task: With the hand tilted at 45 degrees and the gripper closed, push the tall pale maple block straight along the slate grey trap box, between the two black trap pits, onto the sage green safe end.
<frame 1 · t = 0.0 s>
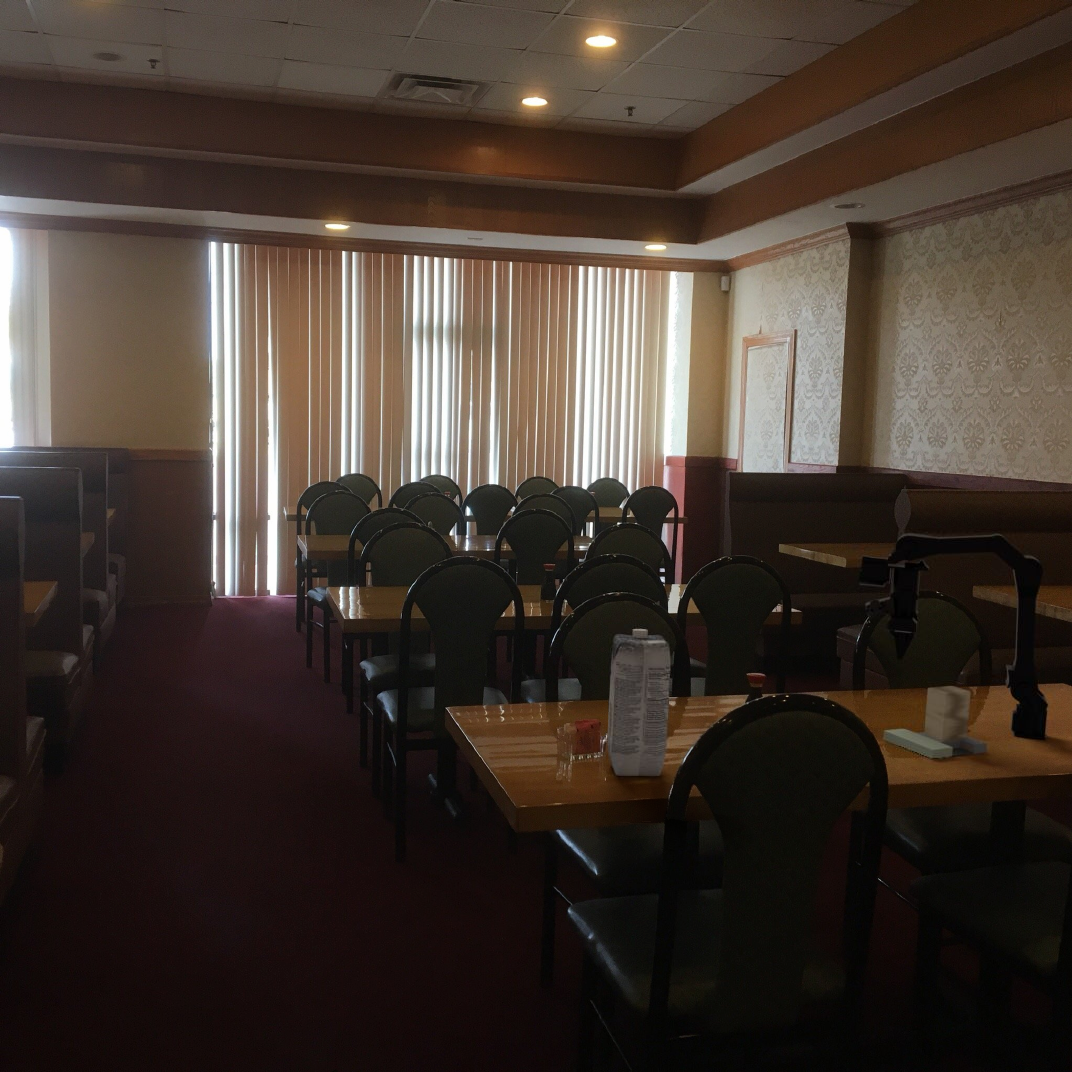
hand: (900, 655, 251), 15 cm above the table, tool pointing down, fingers open, 9 cm apart
juice carton: (635, 771, 207), on the table
maple block: (945, 735, 232), point 2 cm above the table, touching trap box
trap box: (933, 746, 231), on the table
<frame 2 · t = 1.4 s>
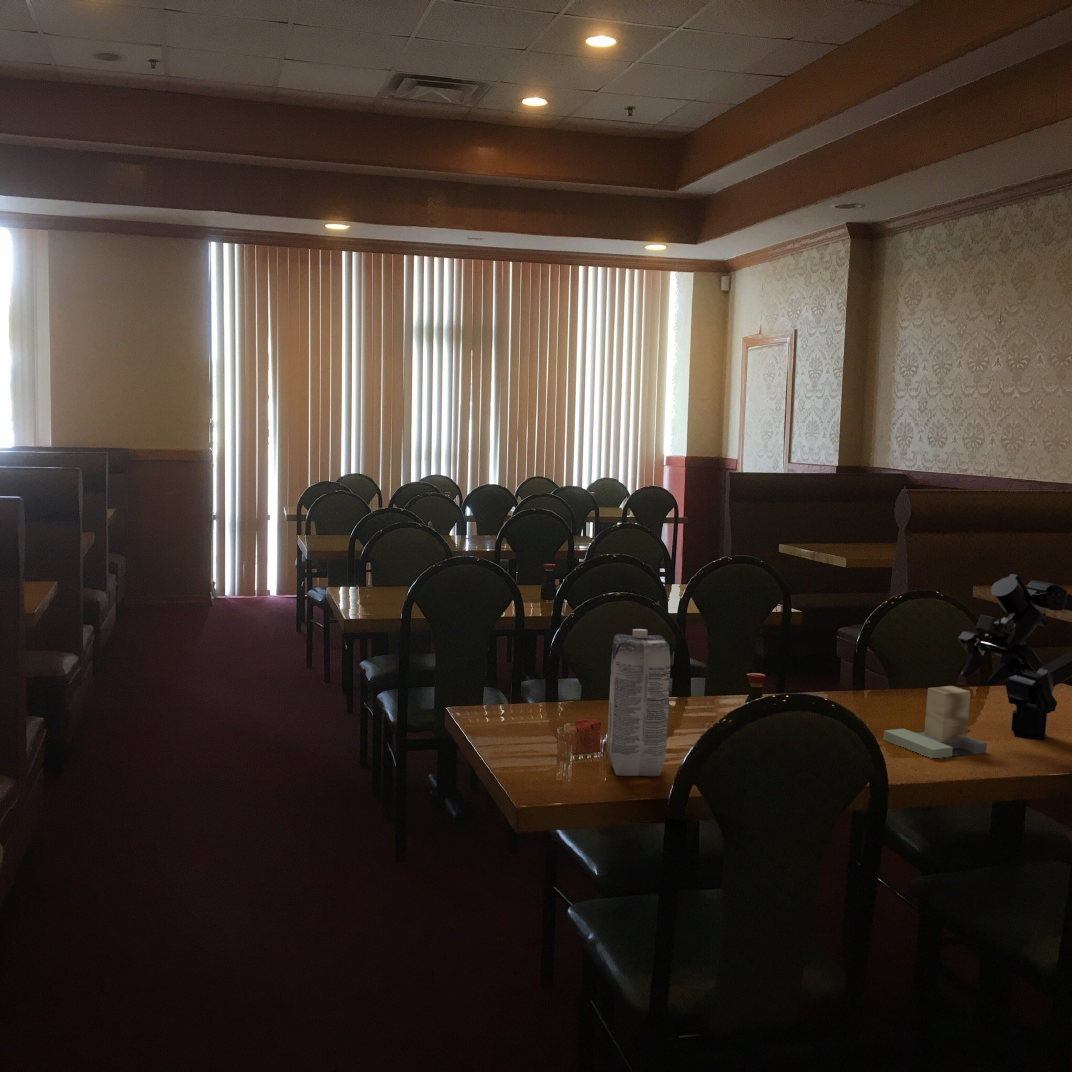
hand: (976, 680, 234), 14 cm above the table, tool tilted 45°, fingers open, 6 cm apart
nothing on the table moved.
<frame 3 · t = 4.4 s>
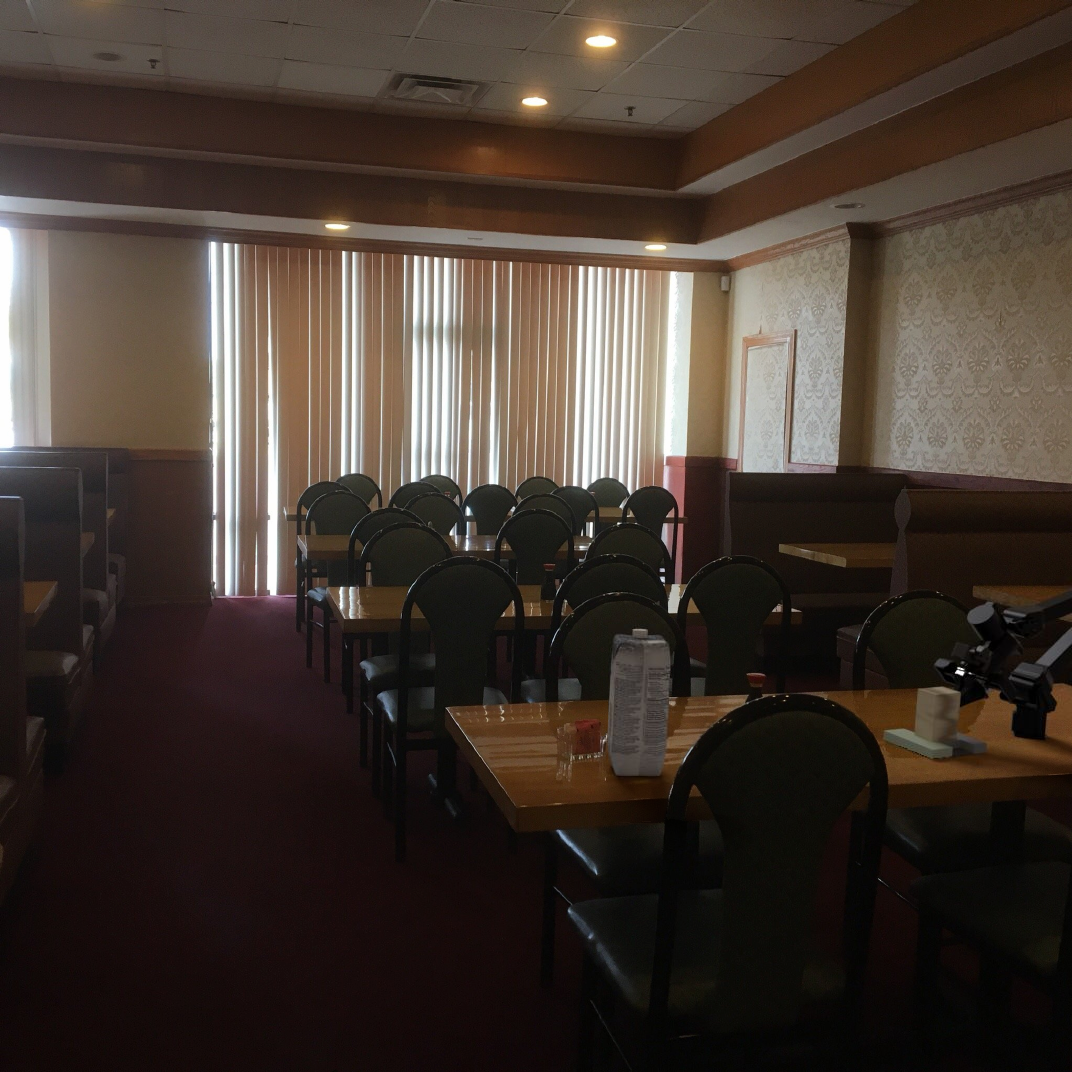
hand: (951, 708, 232), 8 cm above the table, tool tilted 45°, fingers closed, pressing on maple block
maple block: (935, 736, 231), point 2 cm above the table, touching gripper
everything else where it was.
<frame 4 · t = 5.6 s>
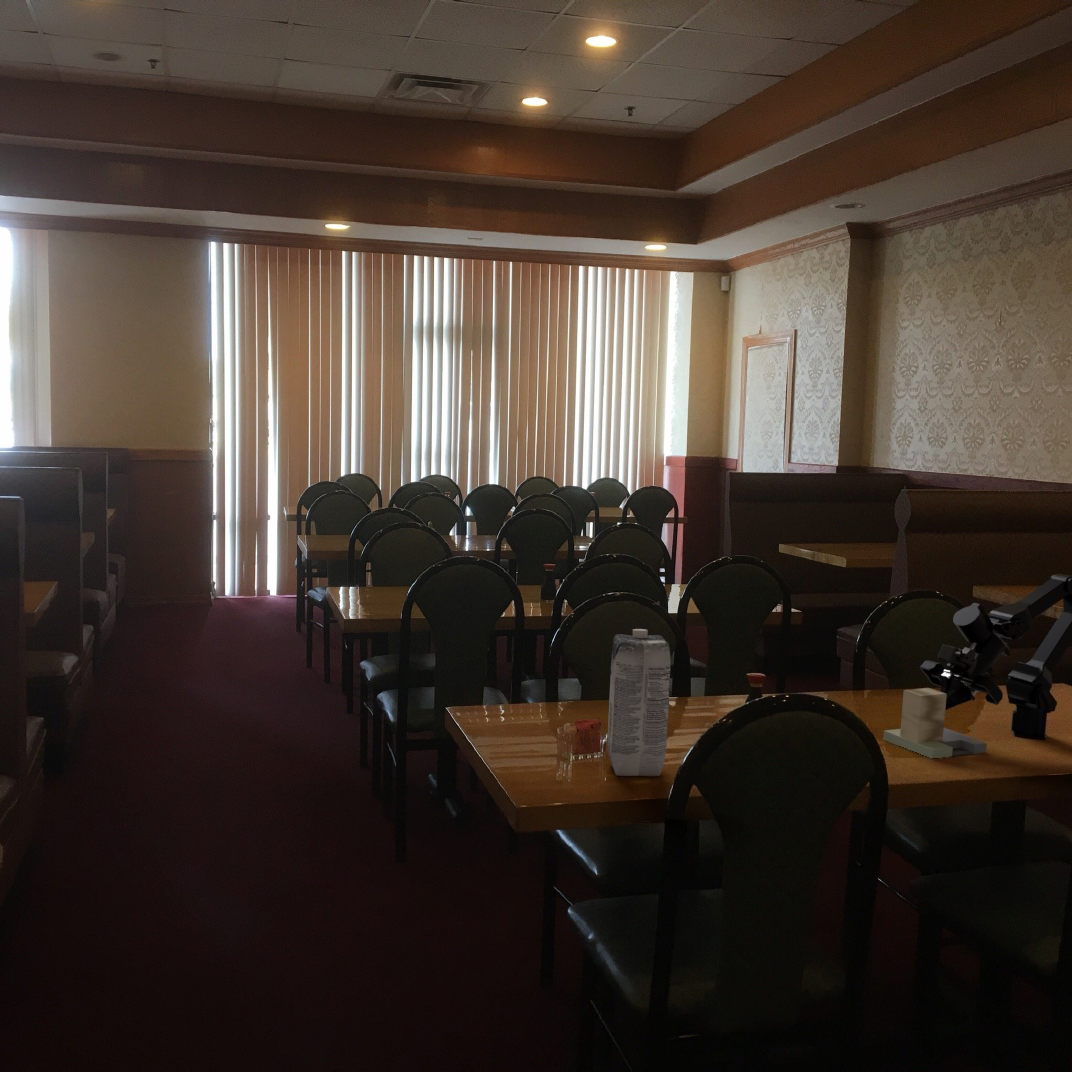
hand: (937, 711, 230), 8 cm above the table, tool tilted 45°, fingers closed
maple block: (921, 738, 230), point 2 cm above the table, touching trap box
everything else where it was.
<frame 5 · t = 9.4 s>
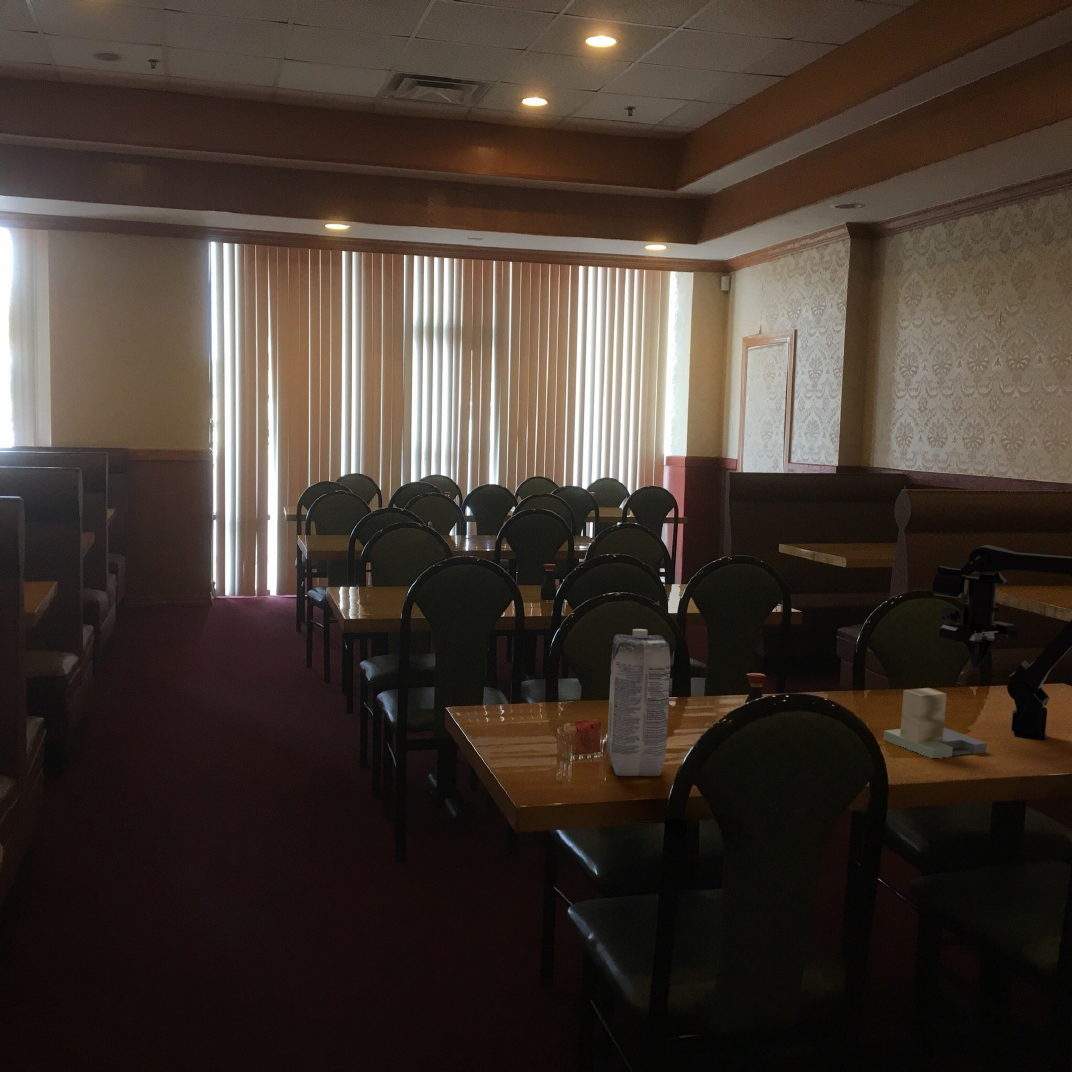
hand: (975, 668, 248), 13 cm above the table, tool pointing down, fingers closed
nothing on the table moved.
at the end: maple block 1.2 cm from the target spot, point 2.0 cm above the table; maple block tilted 0°; maple block moved 6.7 cm from its start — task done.
